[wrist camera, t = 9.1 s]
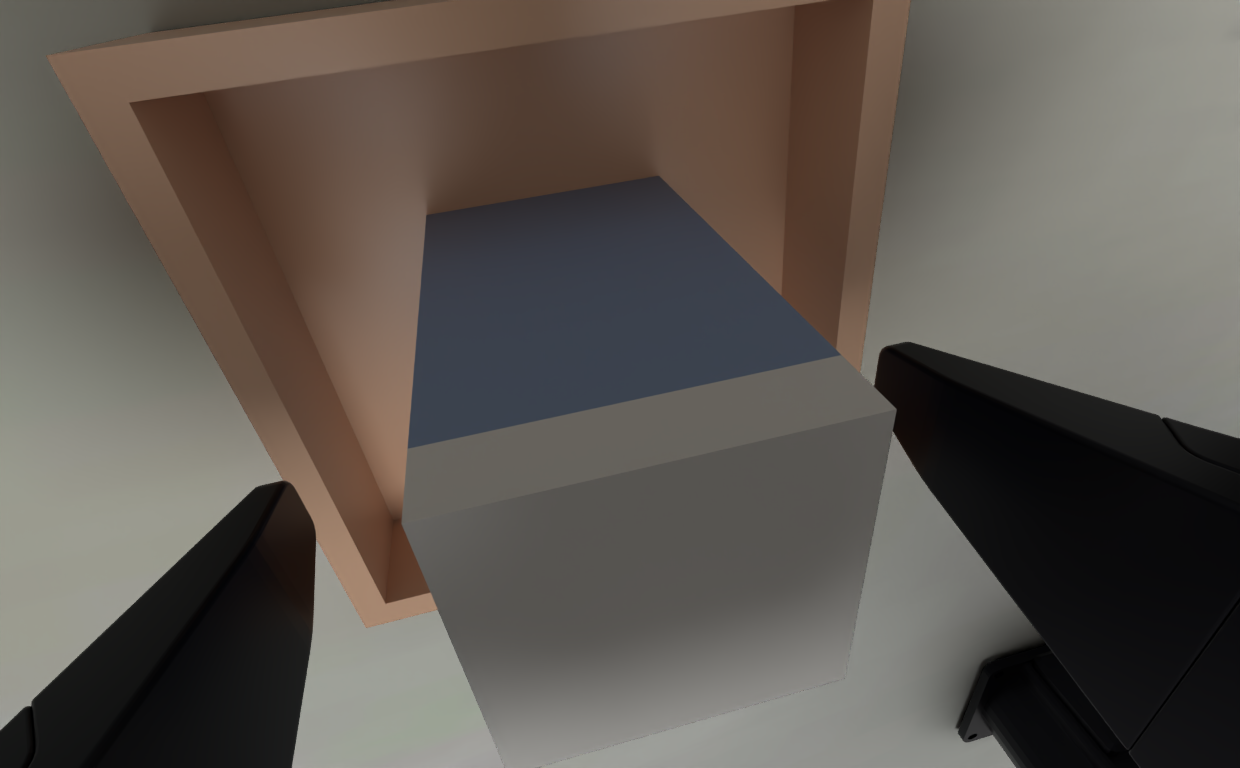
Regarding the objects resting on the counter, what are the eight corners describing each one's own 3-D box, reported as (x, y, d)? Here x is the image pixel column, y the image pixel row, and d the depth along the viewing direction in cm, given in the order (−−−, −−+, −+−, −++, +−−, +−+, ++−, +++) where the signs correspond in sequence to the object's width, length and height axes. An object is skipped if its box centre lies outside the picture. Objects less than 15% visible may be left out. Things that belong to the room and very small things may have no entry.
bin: (785, 429, 18) (841, 506, 15) (378, 525, 16) (366, 627, 14) (813, -56, 11) (919, -63, 9) (148, 32, 10) (46, 56, 7)
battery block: (670, 367, 15) (845, 678, 8) (480, 407, 14) (508, 776, 8) (658, 175, 12) (896, 408, 6) (426, 214, 12) (401, 523, 5)
